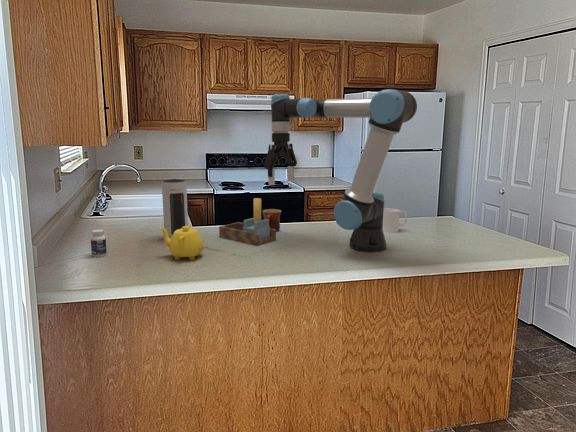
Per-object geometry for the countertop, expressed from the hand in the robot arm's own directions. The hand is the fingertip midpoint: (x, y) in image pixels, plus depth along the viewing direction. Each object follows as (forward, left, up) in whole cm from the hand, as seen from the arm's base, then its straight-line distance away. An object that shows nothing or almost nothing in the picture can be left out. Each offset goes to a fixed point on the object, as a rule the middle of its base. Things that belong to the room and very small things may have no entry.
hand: (281, 183), depth 207 cm
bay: (+10, +11, -25) cm, 29 cm away
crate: (+5, +11, -24) cm, 27 cm away
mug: (+12, -7, -25) cm, 29 cm away
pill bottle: (+38, +63, -25) cm, 78 cm away
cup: (-29, -50, -25) cm, 63 cm away
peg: (+4, +11, -18) cm, 21 cm away
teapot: (+13, +44, -25) cm, 52 cm away
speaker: (+36, +28, -25) cm, 52 cm away
